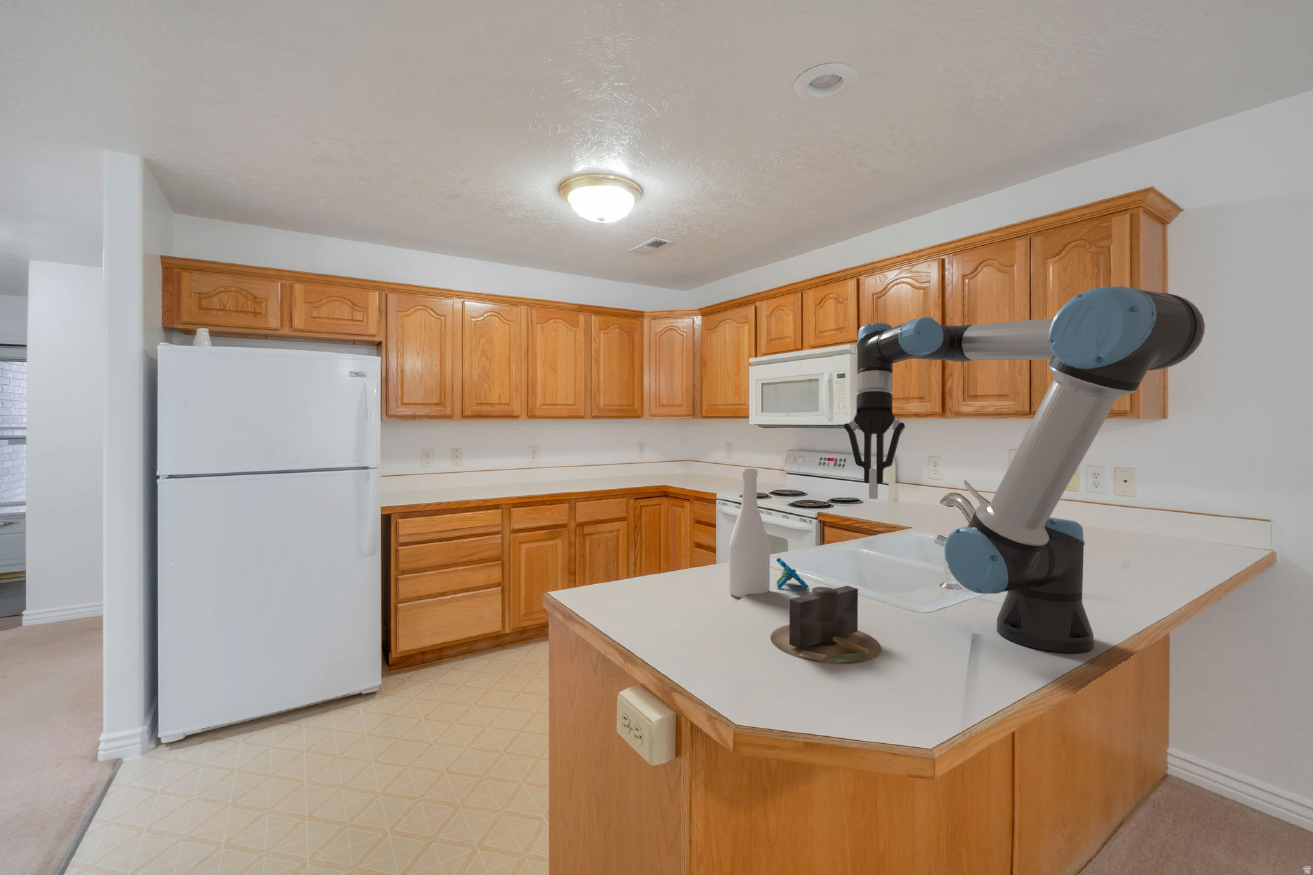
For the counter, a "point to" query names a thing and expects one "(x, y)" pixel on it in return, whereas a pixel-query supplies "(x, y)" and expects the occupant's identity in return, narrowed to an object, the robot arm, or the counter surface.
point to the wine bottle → (749, 544)
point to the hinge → (824, 617)
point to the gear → (788, 575)
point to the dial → (829, 648)
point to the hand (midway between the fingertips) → (873, 498)
